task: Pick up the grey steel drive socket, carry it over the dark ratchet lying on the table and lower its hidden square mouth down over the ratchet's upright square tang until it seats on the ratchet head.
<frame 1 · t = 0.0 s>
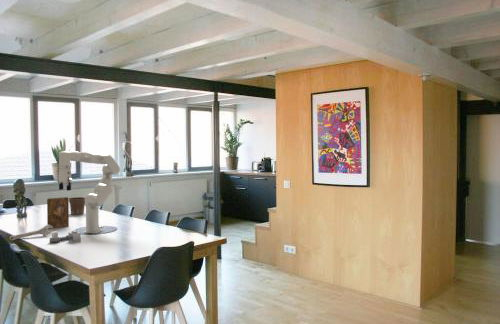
hand: (65, 190, 319), 37 cm above the table, tool pointing down, fingers open, 9 cm apart
socket: (74, 241, 309), on the table
plant pot: (77, 214, 425), on the table
book: (58, 227, 360), on the table
wrench: (31, 237, 321), on the table
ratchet: (54, 242, 306), on the table
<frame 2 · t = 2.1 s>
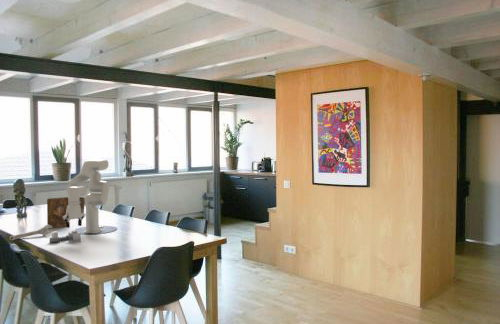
hand: (73, 226, 308), 11 cm above the table, tool pointing down, fingers open, 9 cm apart
nothing on the table moved.
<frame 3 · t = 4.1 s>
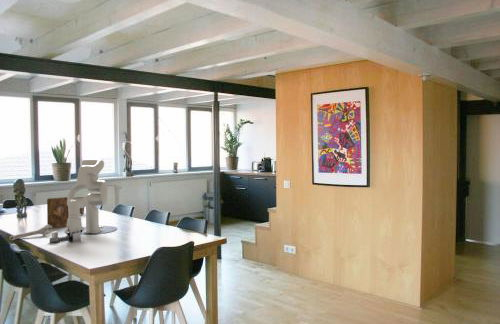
hand: (74, 240, 309), 1 cm above the table, tool pointing down, fingers closed on socket, 6 cm apart
socket: (74, 241, 309), on the table, touching gripper
everything else where it was.
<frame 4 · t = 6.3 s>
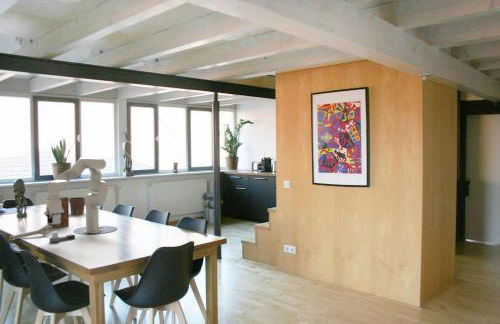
hand: (54, 222, 305), 15 cm above the table, tool pointing down, fingers closed on socket, 6 cm apart
socket: (54, 223, 305), point 14 cm above the table, touching gripper
everything else where it was.
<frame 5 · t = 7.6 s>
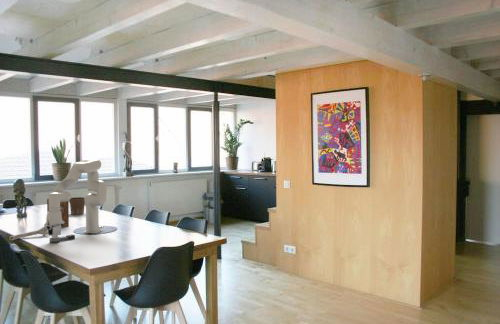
hand: (54, 233, 305), 6 cm above the table, tool pointing down, fingers closed on socket, 6 cm apart
socket: (54, 234, 305), point 5 cm above the table, touching gripper
everything else where it was.
when the fingers open (4 cm above the table, at t = 8.8 s): socket stays where it is, resting on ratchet.
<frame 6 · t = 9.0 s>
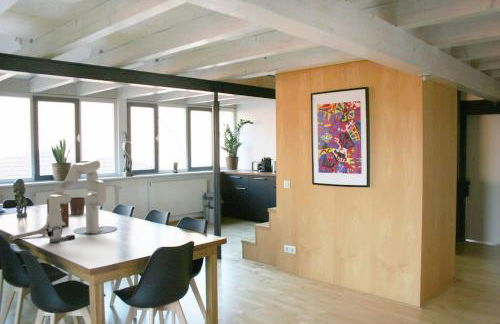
hand: (54, 235, 306), 5 cm above the table, tool pointing down, fingers open, 7 cm apart
socket: (55, 238, 306), point 3 cm above the table, touching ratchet
everything else where it was.
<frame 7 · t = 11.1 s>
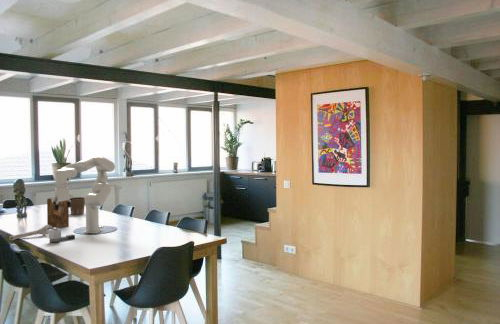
hand: (63, 208, 313), 24 cm above the table, tool pointing down, fingers open, 9 cm apart
nothing on the table moved.
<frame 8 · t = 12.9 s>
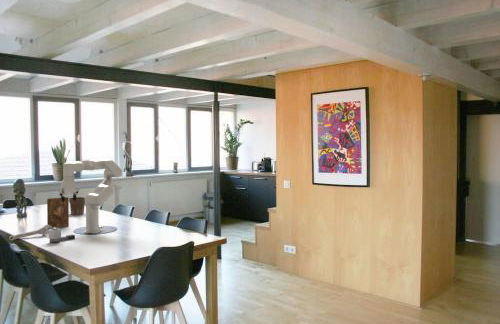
hand: (68, 200, 320), 28 cm above the table, tool pointing down, fingers open, 9 cm apart
nothing on the table moved.
at the end: socket 0.1 cm off-centre on the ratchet, point 3.0 cm above the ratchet's base; socket tilted 0°; the gripper is holding nothing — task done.
